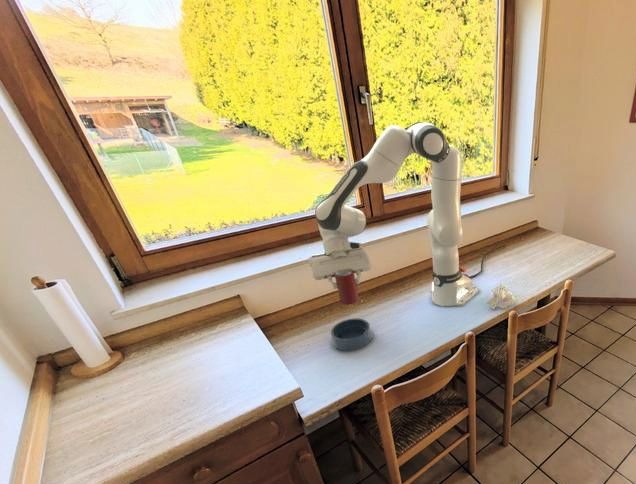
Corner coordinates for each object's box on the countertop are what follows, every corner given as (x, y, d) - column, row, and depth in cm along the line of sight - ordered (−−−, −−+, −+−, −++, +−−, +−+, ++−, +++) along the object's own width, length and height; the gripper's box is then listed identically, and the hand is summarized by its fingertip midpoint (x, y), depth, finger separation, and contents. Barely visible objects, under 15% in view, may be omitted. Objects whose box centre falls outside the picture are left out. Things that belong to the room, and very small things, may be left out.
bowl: (358, 325, 143) (356, 314, 140) (379, 339, 135) (377, 327, 132) (326, 341, 134) (323, 329, 131) (347, 357, 126) (344, 345, 123)
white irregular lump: (516, 307, 149) (500, 291, 147) (501, 318, 153) (485, 303, 151) (520, 293, 159) (505, 278, 157) (506, 304, 163) (491, 290, 161)
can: (352, 293, 136) (346, 266, 130) (362, 299, 133) (356, 271, 127) (337, 300, 132) (330, 272, 126) (346, 306, 129) (340, 278, 123)
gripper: (306, 252, 124) (315, 289, 122) (366, 242, 132) (375, 277, 130) (308, 259, 130) (316, 294, 128) (365, 249, 138) (374, 282, 136)
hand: (347, 285), depth 129 cm, fingers closed on can, 6 cm apart
